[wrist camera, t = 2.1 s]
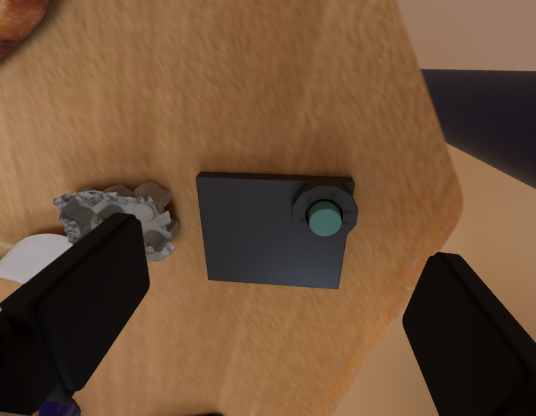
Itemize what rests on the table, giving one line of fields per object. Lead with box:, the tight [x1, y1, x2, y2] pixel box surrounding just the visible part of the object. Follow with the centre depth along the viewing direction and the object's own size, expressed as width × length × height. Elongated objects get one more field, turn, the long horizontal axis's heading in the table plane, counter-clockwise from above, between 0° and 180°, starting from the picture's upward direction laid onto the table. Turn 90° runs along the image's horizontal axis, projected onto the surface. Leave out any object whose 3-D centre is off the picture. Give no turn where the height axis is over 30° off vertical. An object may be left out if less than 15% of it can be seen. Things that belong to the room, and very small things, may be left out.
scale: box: [196, 172, 358, 289], centre depth 27 cm, size 14×12×3 cm
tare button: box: [309, 201, 342, 236], centre depth 23 cm, size 3×3×2 cm
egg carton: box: [53, 181, 180, 262], centre depth 27 cm, size 11×8×4 cm
